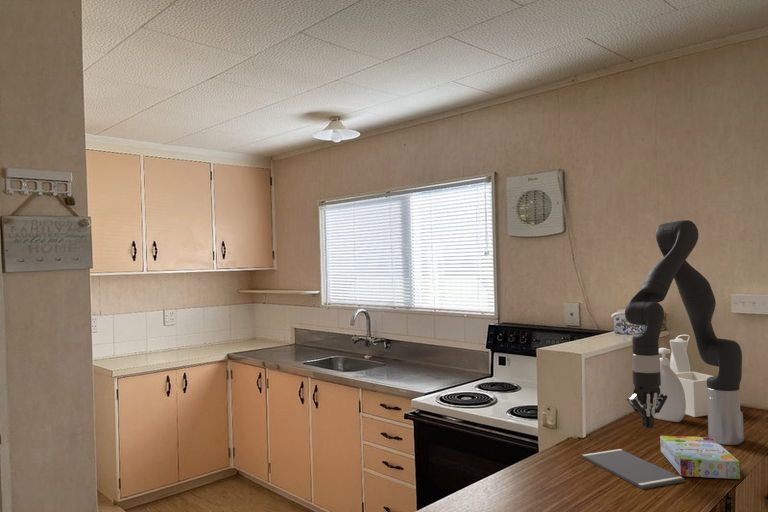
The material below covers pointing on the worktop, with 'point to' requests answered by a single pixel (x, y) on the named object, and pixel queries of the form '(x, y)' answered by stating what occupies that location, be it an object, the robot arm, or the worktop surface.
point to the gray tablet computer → (632, 468)
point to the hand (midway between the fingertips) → (648, 427)
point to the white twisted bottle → (679, 355)
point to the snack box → (699, 457)
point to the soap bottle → (670, 392)
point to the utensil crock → (695, 392)
